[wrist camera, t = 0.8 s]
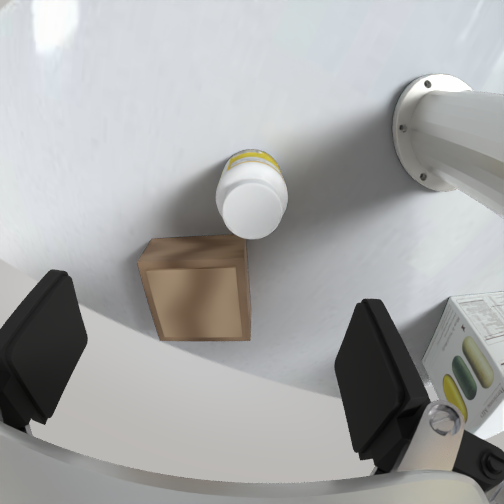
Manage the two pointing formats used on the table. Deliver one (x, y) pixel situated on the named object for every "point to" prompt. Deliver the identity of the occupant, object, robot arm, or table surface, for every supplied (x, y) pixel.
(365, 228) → the table surface
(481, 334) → the supplement box
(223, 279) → the brown square tray
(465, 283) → the table surface
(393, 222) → the table surface
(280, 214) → the supplement bottle
